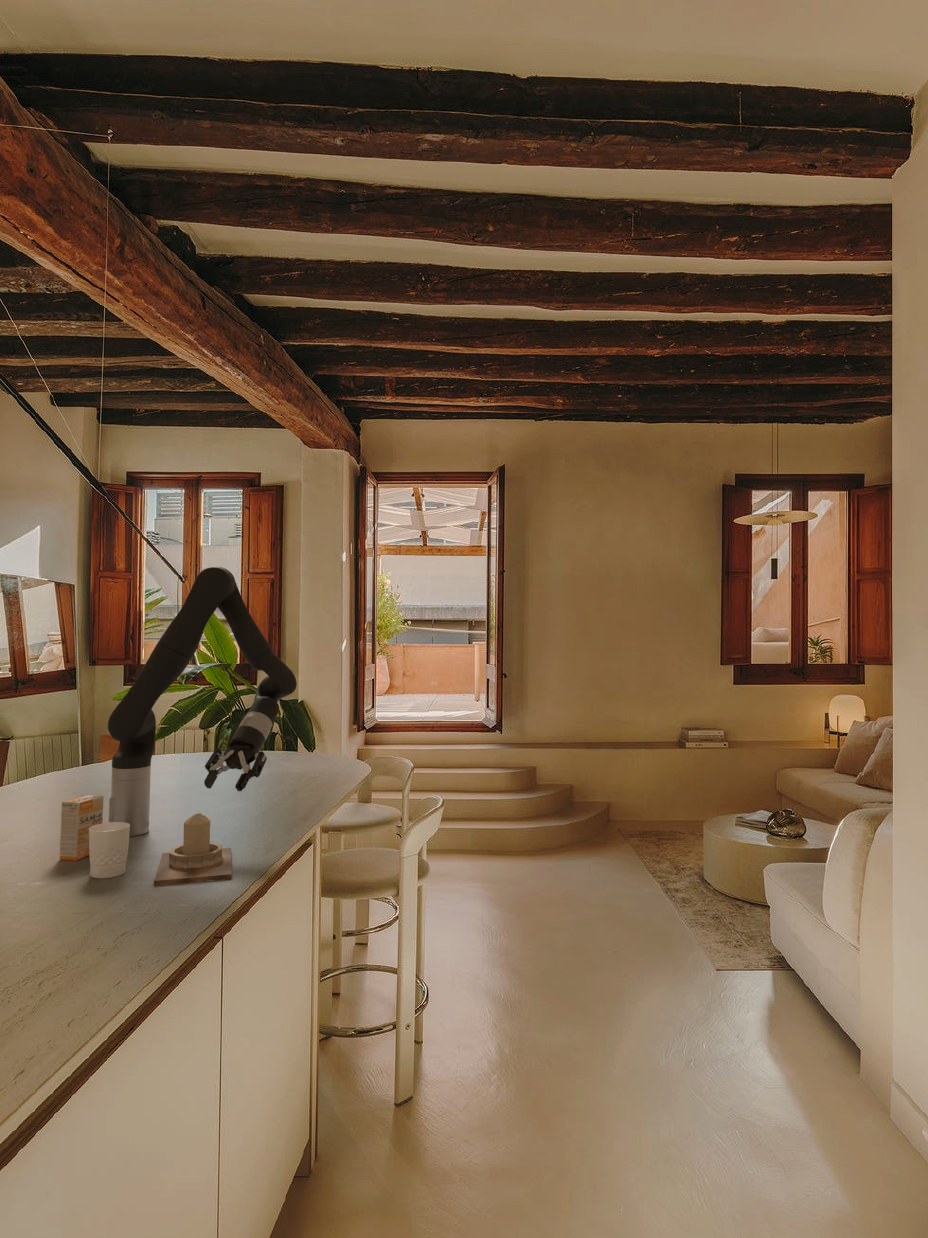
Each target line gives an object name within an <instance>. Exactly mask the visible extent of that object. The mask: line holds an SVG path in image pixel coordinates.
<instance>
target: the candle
mask: <svg viewBox="0 0 928 1238" xmlns="http://www.w3.org/2000/svg"><path fill="white" fill-rule="evenodd" d="M210 840H211V819H209V818H208V817H207V815H206V814H202V813H200V812H199V813H195V814H194V815H191V816H190V817H188V818H186V820H184V822H183V844H182V845H183V855H200V854H205V853H209V852H210V842H211V841H210Z"/></svg>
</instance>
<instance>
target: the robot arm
mask: <svg viewBox="0 0 928 1238" xmlns="http://www.w3.org/2000/svg"><path fill="white" fill-rule="evenodd" d="M217 609H219V611H220V612H221V614H222V615H223V617H224V618H225V620H226V622H227V623H228V626H229V628H230V629H231V633H232V634H233V637H234V639H235V640H234V641H236V643H237V646H238V648H239V649H240V652H241V653H242V655H243V657H244V658H245V660H246V661H247V662H248V664H249V666H250V668H251V669H252V670H254V671H256V672H259V671H261V672H264V673H265V674H266V677H264V678H263V679H262V680H261V681H260V683H259V684H258V686H257V688H256V691H255V695H254V699H253V703H252V705H251V706H250V708H249V710H248V712H247V713H246V715H245V716H244V717H243V718H242V720H241V722H240V724H239V726H238V727H237V729H236V731H235V732H234V734H233V736H232V738H231V739H230V742H229V747H228V748H227V749H226V750H221V749H220V748H219V747H217V748H215V749H214V751H213V752H212V754H211V755H210V757H209V758H208V760H207V762H206V763H205V765H204V768H205V769H206V771H207V772H208V773H207V776H206V777H205V779H204V781H203V784H204V786H205V787H206V789H209V790H210V789H212V788H213V786H214V784H215V782H216V780H217V778H218V776H219V775H220V774H222V773H225V772H227V771H229V770H235V769H236V770H241V771H242V770H243V771H242V772H243V773H241V775H240V776H239V778H238V780H237V781H236V784H235V785H234V786H235V787H234V788H235V789H236V791H237V792H243V790H245V789H246V786H247V784H248V782H249V781H250V779H252V778H253V777H255V778H259V777H260V776H261V773H262V771H263V769H264V767H265V764H266V763H267V760H268V757H267V755H266V754H265V752H264V751H263V750H262V747H263V746H264V744H265V742H266V740H267V738H268V736H269V734H270V732H271V730H272V729H271V728H272V727H273V725H274V722H275V721H276V719H277V717H278V715H279V711H280V705H279V703H278V702H279V700H282V699H283V698H285V697H287V696H289V695H291V694H293V693H294V692H296V689H297V683H298V682H297V678H296V676H295V674H294V673H293V671H292V670H291V668H289V666H287V664H286V663H285V662H284V661H283V660H282V659H281V658H280V657H279V656H277V655H276V654H275V652H274V651H273V649H272V647H271V646H270V644H269V642H268V640H267V639H266V638H265V636H264V634H263V632H262V631H261V630H260V628H259V626H258V624H257V623H256V620H254V618H253V617H252V614H251V613H250V611H249V609H248V608H247V605H246V604H245V602H244V599H243V597H242V595H241V592H240V590H239V587H238V584H237V582H236V579H235V576H234V575H233V573H232V572H231V571H230V570H228V569H227V568H226V567H222V566H214V565H213V566H208V567H205V568H203V569H202V570H201V571H200V572H199V573H198V575H196V577H195V580H194V582H193V584H192V587H191V588H190V590H189V593H188V595H187V597H186V599H185V600H184V603H183V605H182V606H181V609H180V610H179V611H178V613H177V614H176V615H175V617H174V618H173V620H172V621H171V622H170V624H169V625H168V626H167V628H166V630H165V631H164V632H163V634H162V635H161V637H160V639H159V640H158V642H157V643H156V645H155V647H153V650H152V652H151V653H150V655H149V657H148V659H147V660H146V662H145V664H144V665H143V667H142V668H141V670H140V673H138V676H137V677H136V679H135V681H134V682H133V684H132V686H131V687H130V689H129V690H128V691H127V692H126V694H125V695H124V696H123V698H122V699H121V700H120V702H119V703H118V704H117V706H116V707H115V708H114V710H112V712H111V713H110V715H109V718H108V721H107V729H108V733H109V735H110V736H111V738H112V739H114V740H115V741H118V742H119V745H118V748H117V750H116V752H115V753H114V754H113V756H112V759H111V779H110V781H111V783H110V784H111V785H110V788H111V790H110V798H109V800H108V823H109V822H125V823H129V824H130V832H129V837H136V836H140V835H143V834H146V833H148V832H149V831H150V807H151V805H150V803H151V800H150V799H151V778H152V777H151V774H152V772H151V769H152V758H153V755H154V752H155V748H156V747H155V743H156V732H157V731H156V730H157V722H156V721H157V720H156V719H157V718H156V714H155V713H154V710H153V707H154V705H155V704H156V703H157V701H158V700H159V699H160V697H161V696H162V695H163V694H164V693H165V691H167V690H168V689H169V688H170V687H171V685H173V684H174V682H176V680H178V679H179V678H180V676H181V675H182V674H183V673H184V671H185V670H186V669H187V666H188V665H189V663H190V662H191V660H192V659H193V657H194V655H195V653H196V651H197V649H198V648H199V645H200V641H201V639H202V637H203V633H204V631H205V629H206V626H207V624H208V622H209V620H210V619H211V617H212V616H213V614H214V613H215V612H216V610H217ZM224 763H225V764H226V765H224ZM251 763H253V765H252V766H251Z"/></svg>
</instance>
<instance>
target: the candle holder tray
mask: <svg viewBox="0 0 928 1238" xmlns="http://www.w3.org/2000/svg"><path fill="white" fill-rule="evenodd" d="M223 879H225V880H232V847H225V848H223V845H222V844H220V843H218V842H211V841H210V852H209V853H205V854H200V855H183V844H179V845H176V846H175V847H172V848H170V849H169V851H168V852H162V854H161V858H160V861H159V864H158V866H157V871H156V874H155V877H154V880H153V886H154V887H155V886H156V887H157V886H166V885H167V886H168V885H180V884H190V882H192V883H199V882H198V881H203V882H208V881H207V880H214V881H222V880H223ZM223 881H224V880H223Z"/></svg>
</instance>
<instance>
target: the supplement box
mask: <svg viewBox="0 0 928 1238" xmlns="http://www.w3.org/2000/svg"><path fill="white" fill-rule="evenodd" d="M60 812H61V814H60V816H61V817H60V839H59V840H60V841H59V859H60V860H64V861H66V860H67V861H75V862H76V861H78V860H81V859H83V858H86V857H90V854H89V828H90V827H91V826H94V825H97V824H102V823H103V818H104V817H103V815H104V814H103V813H104V796H103V795H94V794H92V795H88V794H87V795H84V796H81V797H76V798H73V799H69V800H63V801H61V811H60Z"/></svg>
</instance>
